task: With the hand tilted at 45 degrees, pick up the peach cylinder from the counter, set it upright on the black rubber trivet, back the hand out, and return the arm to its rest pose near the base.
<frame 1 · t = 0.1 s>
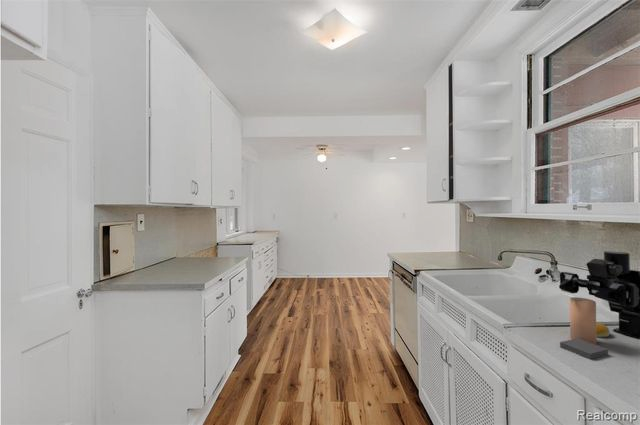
hand: (576, 290, 87), 17 cm above the worktop, tool horizontal, fingers open, 9 cm apart
bread roll: (589, 332, 96), on the worktop
peach cylinder: (583, 340, 90), on the worktop
trivet: (583, 350, 84), on the worktop
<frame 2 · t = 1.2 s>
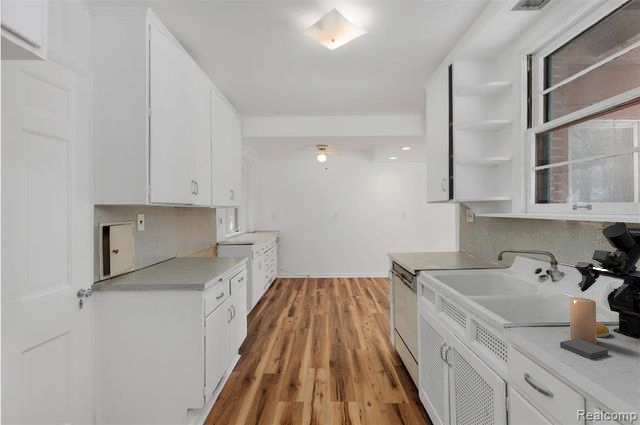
hand: (597, 294, 91), 14 cm above the worktop, tool tilted 45°, fingers open, 9 cm apart
nothing on the worktop moved.
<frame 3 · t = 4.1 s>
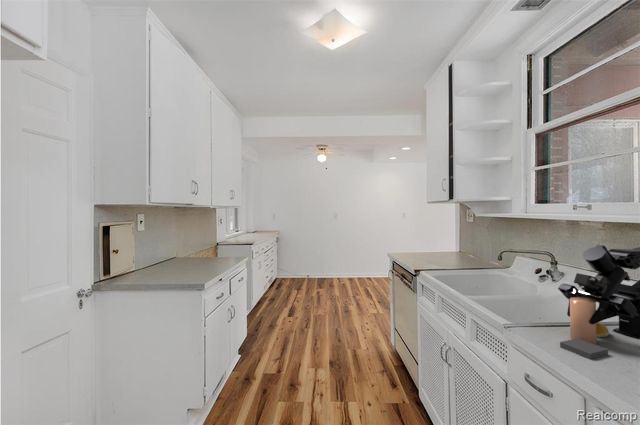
hand: (579, 319, 90), 7 cm above the worktop, tool tilted 45°, fingers closed on peach cylinder, 6 cm apart
peach cylinder: (583, 340, 90), on the worktop, touching gripper
everything else where it was.
when the fingers open (9 cm above the worktop, at t = 8.3 s): peach cylinder drops 1 cm, resting on trivet.
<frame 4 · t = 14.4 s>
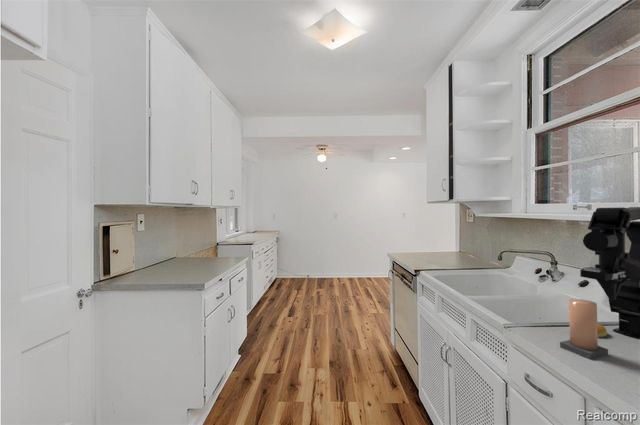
hand: (612, 299, 88), 13 cm above the worktop, tool pointing down, fingers closed
peach cylinder: (583, 345, 84), point 2 cm above the worktop, touching trivet
everything else where it was.
at the end: peach cylinder 0.2 cm off-centre on the trivet, point 1.6 cm above the trivet's base; peach cylinder tilted 1°; the gripper is holding nothing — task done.
